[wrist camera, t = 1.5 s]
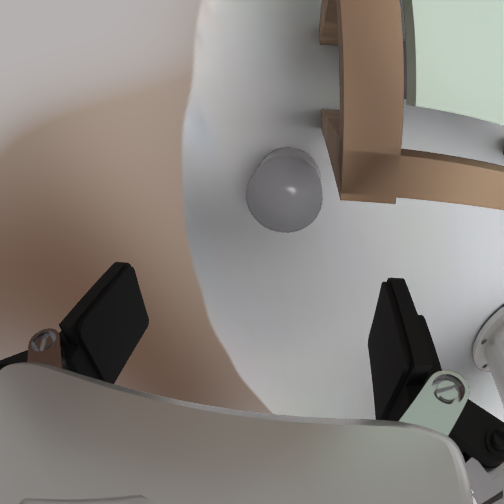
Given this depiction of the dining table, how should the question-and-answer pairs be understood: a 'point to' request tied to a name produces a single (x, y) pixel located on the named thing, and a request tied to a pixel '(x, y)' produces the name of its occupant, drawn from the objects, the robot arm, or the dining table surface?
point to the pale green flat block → (455, 57)
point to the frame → (387, 118)
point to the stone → (285, 190)
